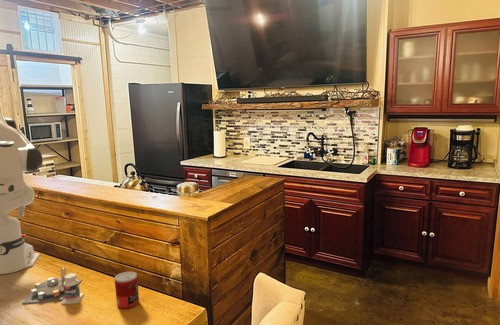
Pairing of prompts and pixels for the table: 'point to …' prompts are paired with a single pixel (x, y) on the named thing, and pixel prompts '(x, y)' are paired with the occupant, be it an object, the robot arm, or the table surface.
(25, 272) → the table surface
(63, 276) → the sprocket
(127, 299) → the canned food
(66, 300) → the pad
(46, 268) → the table surface
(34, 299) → the gray square plate
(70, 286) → the pill bottle
